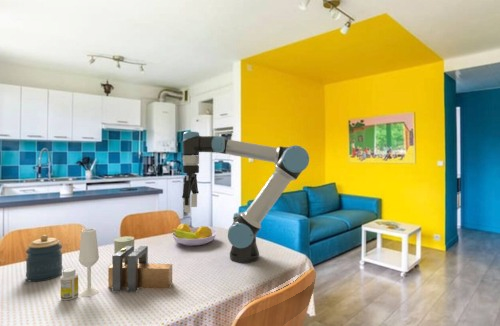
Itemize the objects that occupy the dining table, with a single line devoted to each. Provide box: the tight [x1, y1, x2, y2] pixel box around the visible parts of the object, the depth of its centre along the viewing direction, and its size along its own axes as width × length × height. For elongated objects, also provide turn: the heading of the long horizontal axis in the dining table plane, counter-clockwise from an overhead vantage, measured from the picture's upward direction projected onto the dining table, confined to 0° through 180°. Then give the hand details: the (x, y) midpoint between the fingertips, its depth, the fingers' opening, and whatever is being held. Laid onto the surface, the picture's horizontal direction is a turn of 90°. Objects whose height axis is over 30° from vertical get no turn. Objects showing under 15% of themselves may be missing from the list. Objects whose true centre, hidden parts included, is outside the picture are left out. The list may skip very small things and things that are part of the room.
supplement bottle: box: [59, 267, 79, 301], centre depth 107 cm, size 6×6×10 cm
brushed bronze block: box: [107, 262, 173, 290], centre depth 118 cm, size 24×5×8 cm, turn 88°
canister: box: [25, 234, 63, 282], centre depth 126 cm, size 13×13×18 cm
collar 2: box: [127, 245, 149, 293], centre depth 117 cm, size 3×12×14 cm, turn 178°
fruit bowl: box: [171, 223, 218, 247], centre depth 174 cm, size 28×27×11 cm
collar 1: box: [111, 245, 135, 293], centre depth 118 cm, size 3×12×15 cm, turn 178°
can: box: [113, 235, 135, 263], centre depth 142 cm, size 9×9×12 cm
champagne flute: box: [78, 228, 100, 298], centre depth 111 cm, size 7×7×24 cm
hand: (190, 209), depth 138 cm, fingers open, 13 cm apart
